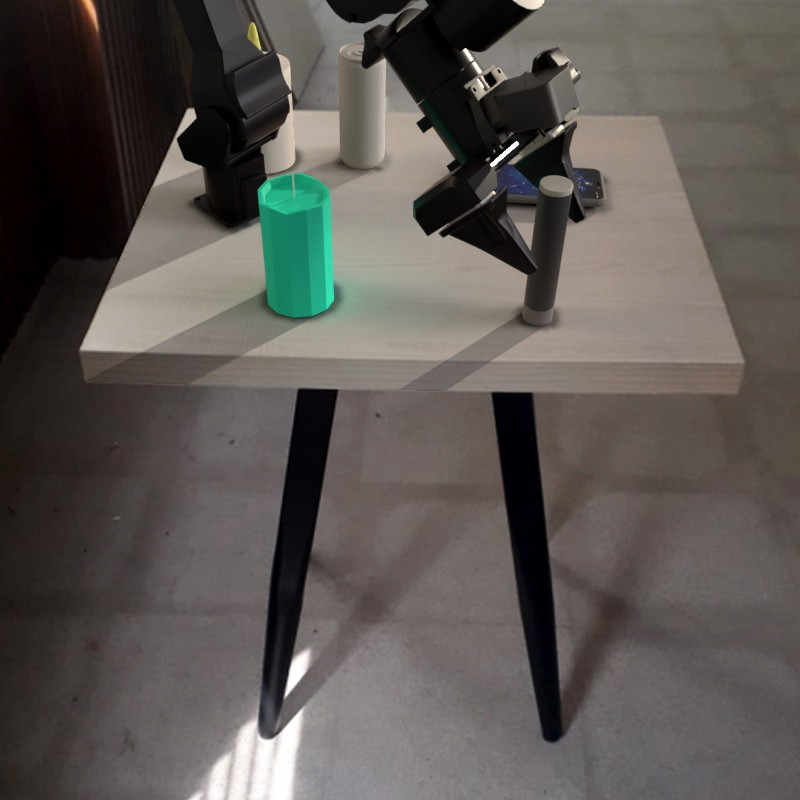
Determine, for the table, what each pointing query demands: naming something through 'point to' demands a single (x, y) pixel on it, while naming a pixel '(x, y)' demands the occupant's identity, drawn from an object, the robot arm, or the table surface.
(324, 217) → the candle
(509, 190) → the smartphone
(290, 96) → the candle
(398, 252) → the table surface
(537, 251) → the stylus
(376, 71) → the beverage can
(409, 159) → the table surface
